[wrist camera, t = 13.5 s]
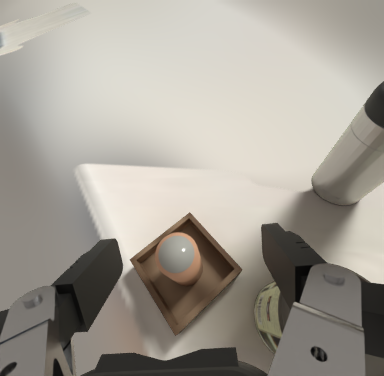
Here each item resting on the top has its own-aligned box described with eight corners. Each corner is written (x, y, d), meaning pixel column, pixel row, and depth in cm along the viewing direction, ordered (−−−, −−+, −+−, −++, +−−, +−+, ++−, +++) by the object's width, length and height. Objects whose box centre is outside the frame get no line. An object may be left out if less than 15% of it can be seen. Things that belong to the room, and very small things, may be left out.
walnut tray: (191, 219, 39) (189, 212, 36) (239, 273, 33) (242, 269, 30) (136, 263, 35) (129, 259, 32) (179, 333, 29) (175, 335, 26)
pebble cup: (189, 244, 35) (180, 223, 26) (209, 269, 32) (207, 255, 24) (164, 265, 34) (146, 250, 25) (183, 294, 31) (171, 288, 22)
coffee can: (344, 355, 26) (452, 393, 14) (270, 372, 26) (316, 425, 14) (305, 274, 32) (359, 252, 20) (244, 288, 31) (262, 274, 20)
